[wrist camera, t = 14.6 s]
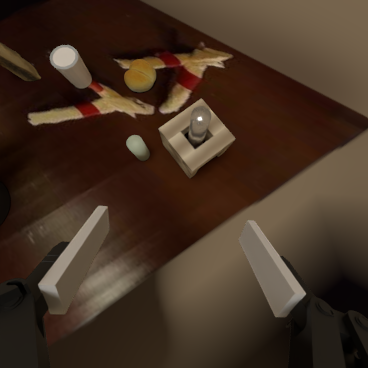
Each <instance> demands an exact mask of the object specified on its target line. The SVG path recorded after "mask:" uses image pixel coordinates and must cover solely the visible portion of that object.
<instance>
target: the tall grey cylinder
mask: <svg viewBox="0 0 368 368" xmlns="http://www.w3.org/2000/svg"><path fill="white" fill-rule="evenodd" d="M210 121H211V112H210V110H209V109H208V108H206V107H203V106H198V107H196V108H194V109H193V110H192V112H191V118H190V126H189V135H188V142H189V143H190V144H191V145H192V147H193V148H194V149H197V148H198V147H200V146H201V145H202V143H203V140H204V137H205V135H206V132H207V129H208V126H209V123H210Z"/></svg>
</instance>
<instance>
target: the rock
mask: <svg viewBox="0 0 368 368" xmlns="http://www.w3.org/2000/svg"><path fill="white" fill-rule="evenodd" d="M0 65H2V66H3V67H5V68H7V69H8V70H10V71H11V72H13V73H14V74H16V75H17V76H18V77H20V78H22V79H23V80H25V81H36V80H38V79H41V77H40V76H39V75H38V73H37V71H36V68H34V67H33V66H32V65H31V64H30V63H28V62H27V61H26V60H24V59H22V58H21V57H20V55H19V54H18V53H17V52H15V51H13V50H12V49H10V48H8V47H7V46H5V45H4V44H2V43H0Z"/></svg>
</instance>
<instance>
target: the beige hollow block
mask: <svg viewBox="0 0 368 368" xmlns="http://www.w3.org/2000/svg"><path fill="white" fill-rule="evenodd" d="M198 106H203V107H206V108H208V109H209V110H210V112H211V121H210V123H209V126H208V129H207V132H206V135H205V137H204V140H205V141H206V142H205V143H204V144H202V145H201V146H200V147H198V148H197V149H194V148H193V147H192V145H191V144H190V143H189V142H188V140H187V139H186V138H185V137H184V135H185V134H186V133H187V132H189V126H190V118H191V112H192V110H193V109H194V108H196V107H198ZM159 132H160V135H161V139H162V142H163V145H164V146H165V147H166V149H167V150H168V151H169V153H170V154H171V155H172V156H173V158H174V159H175V160H176V161H177V163H178V164H179V165H180V167H181V168H182V169H183V170H184V172H185V173H186V174H187V176H188V177H189V178H191V177H193V176H194V175H195V174H196V173H197V171H198V169H199V168H200V167H202V166H203V165H204V164H206V163H207V162H208V161H210V160H211V159H212V158H214V157H215V156H216V155H217V156H218V157H219V156H220V155H222V154H223V153H224V152H225V151H226V150H227V148H228V147H229V146H230V145H231V144H232V142H233V141H234V140H235V138H234V136H233V135H232V134H231V133H230V132H229V130H228V129H227V128H226V127H225V126H224V125H223V123H222V122H221V121H220V120H219V119H218V117H217V116H216V115H215V114H214V113H213V111H212V110H211V109H210V108H209V107H208V106H207V104H206V103H205V102H204V101H203V100H202V98H201V99H200V100H199V101H197V102H196V103H194V104H193V105H191V106H190V107H189V108H187V109H186V110H184V111H183V112H182V113H180V114H179V115H177V116H176V117H174V118H173V119H172V120H170V121H169V122H167V123H166V124H164V125H163V126H162V127H160V128H159Z"/></svg>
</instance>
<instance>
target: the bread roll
mask: <svg viewBox="0 0 368 368" xmlns="http://www.w3.org/2000/svg"><path fill="white" fill-rule="evenodd" d="M124 80H125V83H126V85H127V86H128V87H129V88H130V89H131V90H132V91H134V92H145V91H148V90H149V89H150V88H151V87H152V86H153V84H154V82H155V80H156V71H155V70H154V68H153V67H152V65H151V64H149V63H148V62H146V61H144V60H141V59H138V60H135V61H133V62H132V63H131V64H130V67H129V70H128V71H127V72H126V73H125V75H124Z"/></svg>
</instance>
